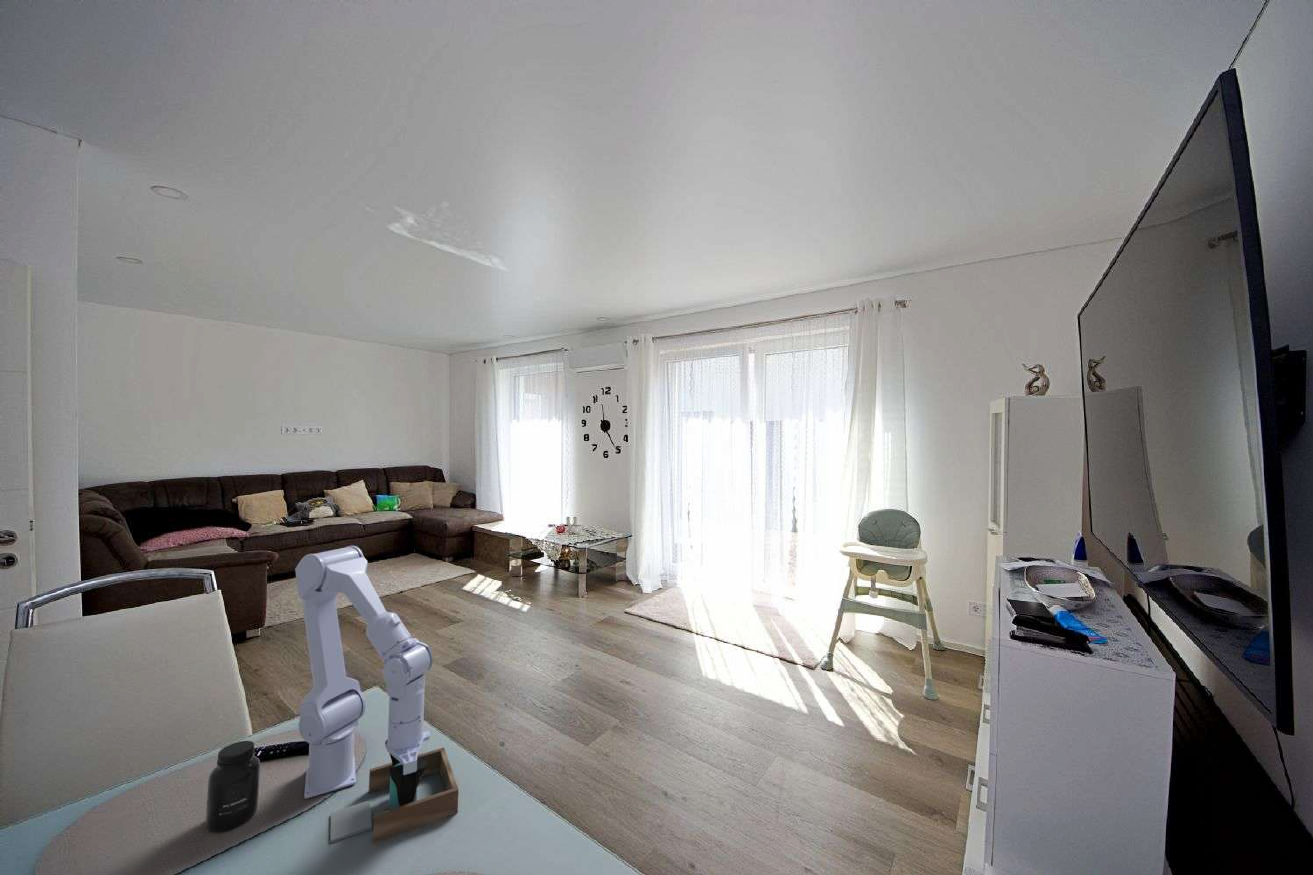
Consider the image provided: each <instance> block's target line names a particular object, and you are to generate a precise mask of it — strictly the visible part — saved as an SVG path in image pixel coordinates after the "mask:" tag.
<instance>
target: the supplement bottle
mask: <svg viewBox="0 0 1313 875" xmlns="http://www.w3.org/2000/svg"><path fill="white" fill-rule="evenodd" d="M260 760H261V759H259V757H258V756H255V743H254V742H253V741H251V740H241V741H237V742H233V743H231V744H227V745H226V746H224V747H222V749H220V750H219V752H217V761H216V767H214V768H213V770H212V771H211V773H210V774H209V776H208V782H207V796H206V810H205V812H206V813H205V829H206V831H208V832H210V833H213V834H221V833H226V832H230V831H233V830H235V829H238V828H240V827H241V826H243V825H245V824H247V823H248V822H249V821H250V820H252V818H253V817H255V814H256V813H257V811H258V805H259V793H260V791H259V790H260V779H261V761H260Z"/></svg>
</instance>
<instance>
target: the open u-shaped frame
mask: <svg viewBox="0 0 1313 875" xmlns="http://www.w3.org/2000/svg"><path fill="white" fill-rule="evenodd" d="M422 760H425V761H426V769H425V771H424V772H423V774H422V776H421V778H422V777H425V776H428V775H432V774H434V773H437V772H439V773H440V776H441V779H442V783H443V786H444V791H442V792H441V791H440V792H438V793H435V794H432V795H429V796H426V797H424V798H420V799H418V800H417V799H416V801H414V802H412V803H409V804H406V805H403V806H400V807H397V808H394V809H391V810H389V809H388V810H386V811H383V812H380V813H377V814H374V815H373V816H374V817H373V837H372V838H373V839H372V842H373V844H374V843H378V842H380V841H382V840H385V839H388V838H391V837H394V836H396V835H399V834H400V835H401V834H402V833H405V832H408V831H410V830H411V831H412V830H413V829H415V828H419V827H420V826H424V825H426V824H430V823H432V822H435V821H437V820H440V819H443V818H445V817H446V818H447V817H448V816H450V815H453V814H456V813H459V812H458V810H459V788H458V787H459V786H458V784H457V781H456V778H455V776H454V773H453V770H452V767H451V764H450V761H449V758H448V756H447V751H446V749H445V747H441V748H437V749H434V750H430V751H426V752H424V753H419V754H418V757H417V762H419V761H422ZM391 767H393V766H392V762H390V763H386V764H382V765H380V766H379V765H378V766H375V767H373V768H372V767H371V768H369V774H368V776H369V777H368V793H369V794H371V793H376V792H378V791H381V790H384V789H387V788H390V771H389V768H391Z"/></svg>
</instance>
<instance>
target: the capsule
mask: <svg viewBox="0 0 1313 875" xmlns="http://www.w3.org/2000/svg"><path fill="white" fill-rule="evenodd" d="M401 764H402V763H401V762H400V763H398V764H396V765H395V766H398V765H401ZM395 766H394V767H395ZM417 793H418V789H417V790H416V794H415V798H414V801H417V799H418V798H417V796H418V794H417ZM388 798H389V802H388V810H391V809H394V808H397V807H400V806H399V802H398V796H397V789H396V786H395V784H394V782H393V780H392V779H391V777H390V787H389V797H388ZM414 801H413V802H414Z"/></svg>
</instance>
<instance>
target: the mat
mask: <svg viewBox="0 0 1313 875" xmlns="http://www.w3.org/2000/svg"><path fill="white" fill-rule="evenodd" d="M370 806H371V804H370V800H367V801H364V802H359V803H357V804H355V805H351V806H348V807H344V808H341V809H339V810H336V811H332V812H330V839H329V840H330V841H329V843H330V844H333V843H335V842H338V841H341V840H343V839H346V838H350V837H352V836H354V835H358V834H360V833H363V832H364V833H365V832H366V831H369V830H372V826H373V825H372V817H371V816H372V814H371V807H370Z"/></svg>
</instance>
